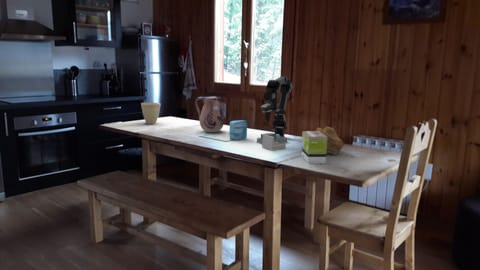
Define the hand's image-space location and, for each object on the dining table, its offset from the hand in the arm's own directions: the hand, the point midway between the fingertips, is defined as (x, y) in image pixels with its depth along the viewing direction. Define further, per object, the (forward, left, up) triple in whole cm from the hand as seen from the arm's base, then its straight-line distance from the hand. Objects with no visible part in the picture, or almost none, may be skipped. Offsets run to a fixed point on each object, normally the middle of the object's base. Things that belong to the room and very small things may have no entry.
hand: (272, 123), depth 248 cm
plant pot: (+42, -99, -12) cm, 108 cm away
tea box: (+10, +47, -12) cm, 50 cm away
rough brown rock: (-10, +40, -12) cm, 43 cm away
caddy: (+2, +2, -11) cm, 12 cm away
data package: (+14, -18, -12) cm, 26 cm away
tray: (+1, +2, -12) cm, 12 cm away
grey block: (+9, +15, -12) cm, 21 cm away
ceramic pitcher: (+18, -49, -12) cm, 54 cm away
